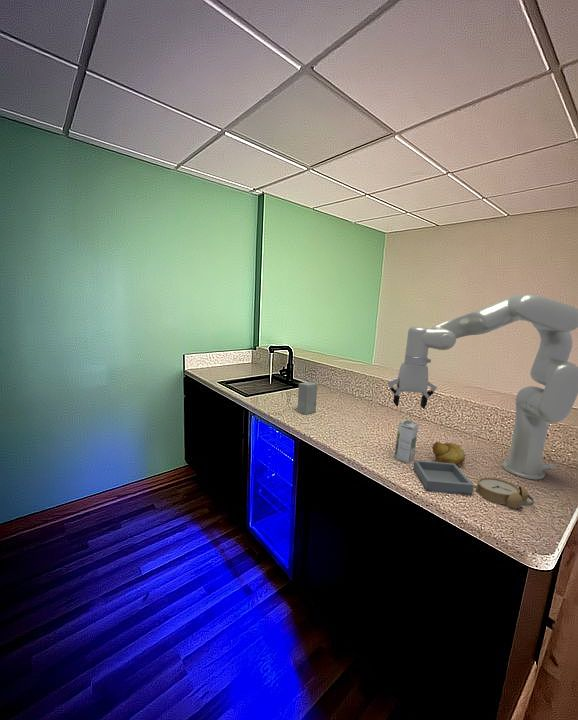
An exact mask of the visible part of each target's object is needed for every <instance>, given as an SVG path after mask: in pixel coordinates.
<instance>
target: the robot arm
mask: <svg viewBox="0 0 578 720" xmlns="http://www.w3.org/2000/svg"><path fill="white" fill-rule="evenodd" d="M517 321H526V322H528V323H531V324H532V325H533V327H535V329H536V331H537V333H538V334H539V337H540V343H539V348H538V351H537V353H536V355H535V358H534V361H533V363H532V366H531V369H530V377H531V379H532V380H533V381H534V382H536V383H537V384H540V385H543V386H544V388H542V387H540V386H539V387H538V386H532V385H531V386H526V387H522V388H521V389H520V390H519V391H518V392H517V394H516V395H515V418H514V419H515V420H514V424H513V430H512V436H511V442H510V447H509V452H508V453H509V454H508V459H507V460H503V461H502V464H501V466H502V468H503V469H504V470H505V471H507V472H508V473H511V474H512V475H515V476H516V477H520V478H524V479H528V480H535V481H536V480H543V479H544V478H545V472H544V471H546V470H547V471H555V468H556V467H555V465H553V464H546V461H542V459H543V454H544V450H545V445H546V439H547V434H548V426H549V423H550V424H556V423H560V422H562V421H563V420H565V419H566V418H567V417H568V416H569V415H570V414H571V412H572V409H573V407H574V405H575V402H576V399H577V397H578V366H577V365H576V364H574V363H572V362H571V361H570V362H569V359H570V355H571V352H572V348H573V337H572V334H571V332H572V331H574V330H576V329H577V328H578V308H577V307H575V306H573V305H571V304H568V303H565V302H560V301H557V300H555V299H551V298H547V297H544V296H542V295H536V294H533V293H532V294H531V293H530V294H527V293H526V294H516V295H511V296H509V297H506V298H504V299H501V300H499V301H497V302H494V303H492V304H490V305H487V306H484V307H482V308H479V309H477V310H475V311H472V312H469V313H467V314H464V315H460V316H458V317H455V318H452V319H450V320H446V321H444V322H443V323H442V322H441V323H440V324H437V325H435V326H433V327H431V328H427V327H423V326H421V327H419V326H412V327H409V329H408V330H407V331H408V332H407V339H406V347H405V355H404V360H403V361H404V362H402V363H401V365H400V367H399V372H398V376H397V378H395V379H393V380H391V381H387V382H388V383H387V385H388V387H389V389H390V391H391V392H392V393H393V402H392V403H393V404H394V406H395V407H398V406H399V403H400V394H401V393H402V392H408V393H419V394H420V393H421V394H422V395H421V398H420V399H421V400H420V407H421V408H422V409H426V406H427V404H428V399H429V397H431V396H432V395H433V394H434V393H435V391H437V388H438V387H437V386H436V385H434V384H433V383H431V382H430V381H429V367H428V363H431V362H432V359H430V358H428V355H429V349H433V350H434V349H435V350H438V351H447V350H450V349H452V348H453V347H454V346H455V344H456V342H457V339H460V338H463V337H464V338H465V337H468V336H477V335H484V334H488V333H491V332H492V331H494V330H498V329H500V328H503V327H505V326H507V325H510V324H513V323H514V322H517ZM394 385H396V388H394ZM428 386H429V387H430V389H429V390H428Z"/></svg>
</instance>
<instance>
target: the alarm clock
mask: <svg viewBox="0 0 578 720" xmlns="http://www.w3.org/2000/svg"><path fill="white" fill-rule="evenodd" d="M476 482H477V486H476V485H474V487H473V489H476V491H477V493H478V495H480V496H481V497H482V498H484V499H486V500H488V501H490V502H493V503H496V504H500V505H507V506H508V507H509V508H511V509H514V510H517V509H520V508H521V507H522V506H524V507H533V506H534V504H535V499H534V497H532V496H531V495H530V494H529V493H528V491H527V489H526V488H525V487H523V486H522V485H519V486H517V485H515V484H513V483H512V482H510V481H507V480H504V479H501V478H495V477H481V478H478V480H477V481H476ZM528 499H529V500H530V501H531V502H527V500H528Z"/></svg>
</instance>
